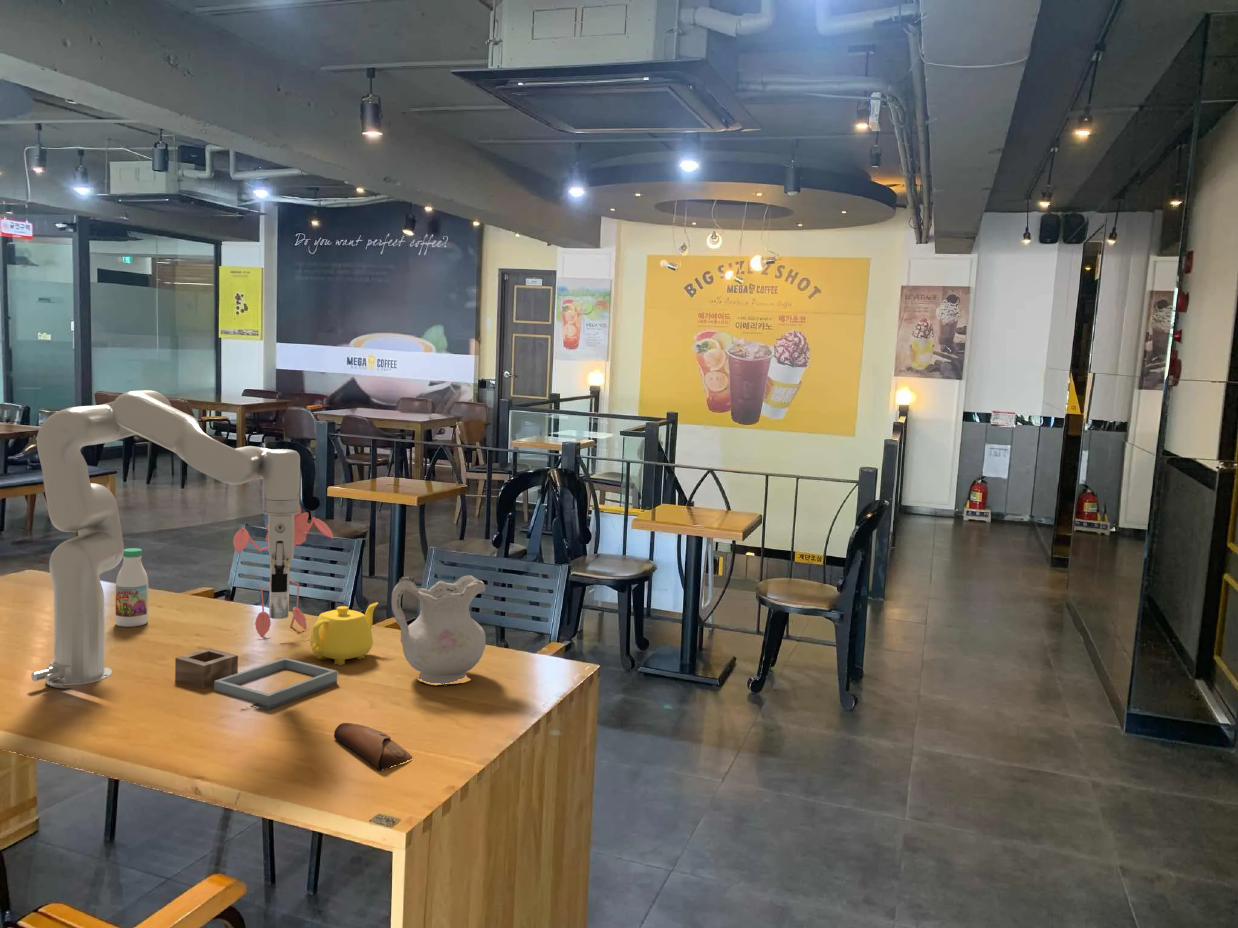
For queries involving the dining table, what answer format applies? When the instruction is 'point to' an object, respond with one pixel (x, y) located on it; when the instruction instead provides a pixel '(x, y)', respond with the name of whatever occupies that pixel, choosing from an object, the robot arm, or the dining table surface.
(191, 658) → the holder block
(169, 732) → the dining table surface
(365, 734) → the sunglasses case
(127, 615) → the milk bottle
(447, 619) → the ceramic pitcher
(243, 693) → the tray
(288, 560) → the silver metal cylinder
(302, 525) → the figurine
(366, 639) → the teapot
